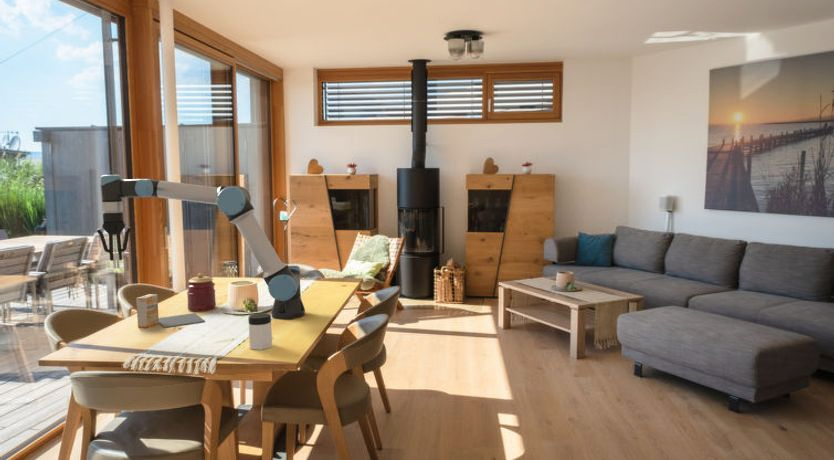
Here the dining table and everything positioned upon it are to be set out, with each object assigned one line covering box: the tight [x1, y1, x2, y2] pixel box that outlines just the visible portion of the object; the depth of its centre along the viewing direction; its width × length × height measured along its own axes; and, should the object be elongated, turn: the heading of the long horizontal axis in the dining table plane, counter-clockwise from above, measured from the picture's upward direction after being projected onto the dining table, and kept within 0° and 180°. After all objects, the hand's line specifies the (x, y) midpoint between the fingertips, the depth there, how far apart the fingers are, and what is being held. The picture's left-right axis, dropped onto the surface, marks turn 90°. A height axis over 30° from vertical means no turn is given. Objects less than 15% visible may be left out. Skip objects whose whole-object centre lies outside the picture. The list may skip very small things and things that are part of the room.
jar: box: [248, 312, 273, 351], centre depth 220 cm, size 9×8×12 cm
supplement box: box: [136, 293, 160, 329], centre depth 253 cm, size 8×5×13 cm, turn 168°
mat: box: [158, 312, 206, 329], centre depth 261 cm, size 18×17×1 cm
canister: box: [186, 272, 217, 312], centre depth 283 cm, size 13×13×18 cm
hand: (116, 268), depth 245 cm, fingers closed
